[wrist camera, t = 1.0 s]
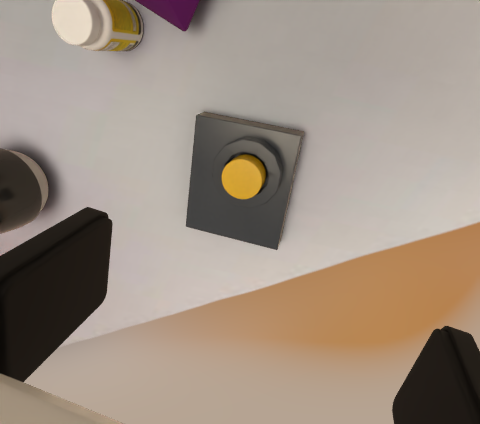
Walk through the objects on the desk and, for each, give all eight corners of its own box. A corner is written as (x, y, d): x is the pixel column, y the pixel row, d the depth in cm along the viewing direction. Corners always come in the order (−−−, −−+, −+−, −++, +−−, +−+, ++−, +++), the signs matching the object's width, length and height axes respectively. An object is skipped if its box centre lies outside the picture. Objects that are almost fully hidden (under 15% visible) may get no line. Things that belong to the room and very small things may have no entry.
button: (230, 150, 37) (224, 155, 35) (269, 158, 36) (265, 164, 34) (225, 187, 39) (219, 194, 37) (262, 196, 38) (258, 203, 36)
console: (204, 111, 40) (188, 117, 36) (304, 131, 38) (299, 139, 34) (193, 218, 46) (178, 233, 42) (280, 240, 44) (274, 258, 40)
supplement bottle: (113, -9, 38) (56, -25, 31) (151, 16, 38) (103, 6, 31) (98, 36, 40) (41, 31, 33) (134, 60, 40) (85, 60, 33)
